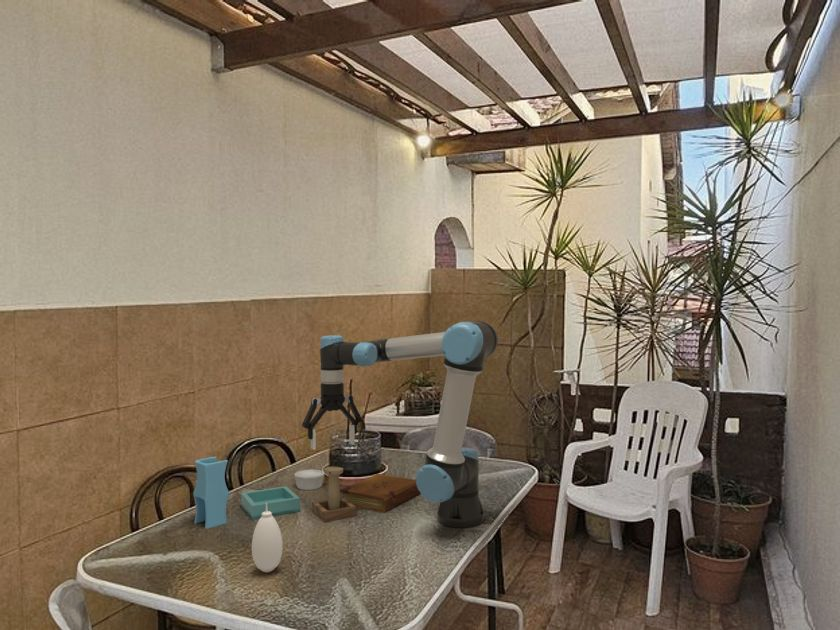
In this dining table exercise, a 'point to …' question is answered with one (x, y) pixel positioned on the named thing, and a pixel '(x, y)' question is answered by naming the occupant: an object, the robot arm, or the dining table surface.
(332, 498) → the handle
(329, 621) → the dining table surface
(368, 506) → the diary
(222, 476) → the blue tall hollow block
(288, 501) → the parts tray
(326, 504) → the socket
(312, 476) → the ramekin
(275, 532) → the white air blower bulb
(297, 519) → the dining table surface
